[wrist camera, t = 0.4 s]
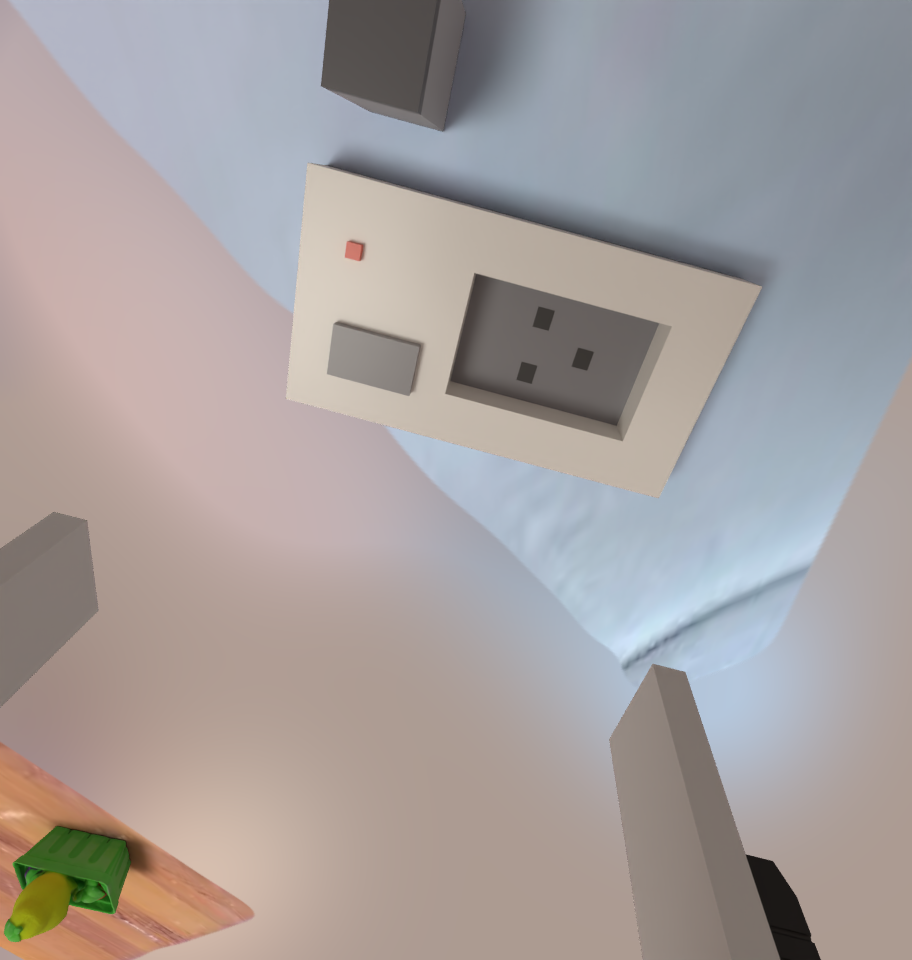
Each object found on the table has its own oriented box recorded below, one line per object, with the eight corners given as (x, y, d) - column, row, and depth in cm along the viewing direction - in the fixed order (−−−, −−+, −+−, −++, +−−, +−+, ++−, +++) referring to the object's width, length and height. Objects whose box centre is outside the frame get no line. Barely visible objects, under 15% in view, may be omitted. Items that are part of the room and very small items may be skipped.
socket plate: (326, 165, 30) (303, 162, 27) (741, 278, 31) (766, 288, 28) (303, 383, 36) (282, 402, 33) (649, 476, 37) (660, 502, 34)
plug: (386, -9, 27) (337, -81, 20) (465, 13, 27) (445, -51, 20) (370, 111, 29) (320, 85, 22) (443, 131, 29) (417, 112, 22)
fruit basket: (56, 851, 70) (-21, 960, 60) (41, 811, 66) (-44, 921, 56) (142, 869, 70) (78, 981, 60) (133, 830, 66) (63, 944, 56)
